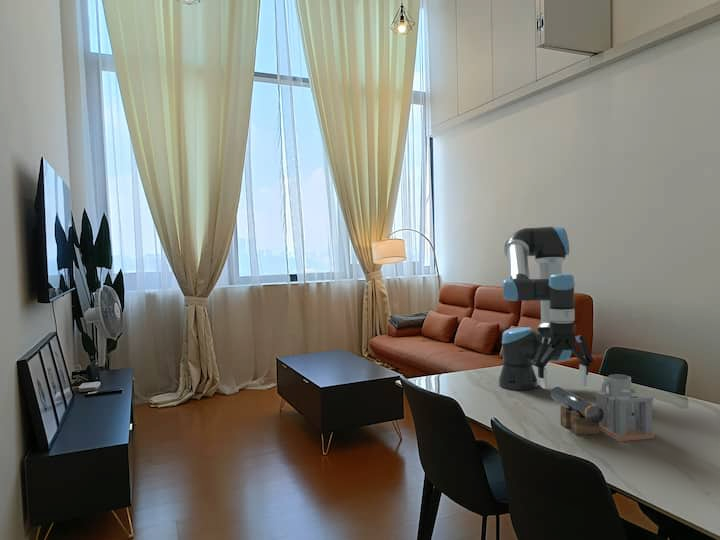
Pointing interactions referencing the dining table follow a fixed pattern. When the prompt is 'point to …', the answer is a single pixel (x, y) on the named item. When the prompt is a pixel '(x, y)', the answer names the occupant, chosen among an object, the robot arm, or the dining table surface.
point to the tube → (577, 404)
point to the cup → (616, 385)
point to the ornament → (632, 395)
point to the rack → (577, 422)
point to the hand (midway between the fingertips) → (563, 386)
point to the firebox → (626, 416)
